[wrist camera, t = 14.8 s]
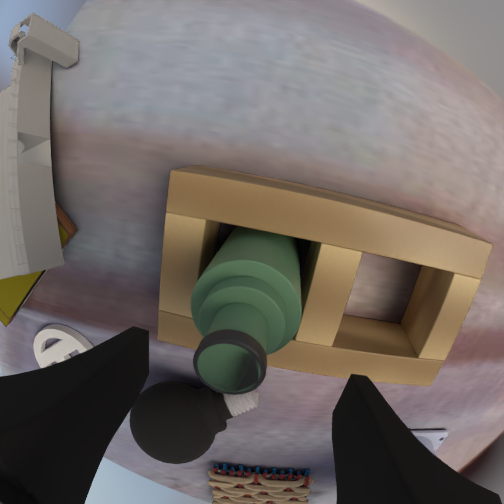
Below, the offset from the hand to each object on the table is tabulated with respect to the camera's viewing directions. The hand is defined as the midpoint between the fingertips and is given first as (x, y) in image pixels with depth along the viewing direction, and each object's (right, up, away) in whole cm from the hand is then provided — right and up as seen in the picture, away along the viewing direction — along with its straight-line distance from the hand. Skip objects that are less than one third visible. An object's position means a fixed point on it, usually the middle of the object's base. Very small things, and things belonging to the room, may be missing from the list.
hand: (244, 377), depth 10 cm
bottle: (+1, +4, +8) cm, 9 cm away
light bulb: (-4, -6, +13) cm, 15 cm away
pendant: (-17, -6, +13) cm, 23 cm away
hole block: (+4, +3, +8) cm, 10 cm away
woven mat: (+1, -22, +15) cm, 26 cm away
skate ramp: (-16, +10, +7) cm, 21 cm away
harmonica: (-18, +2, +9) cm, 20 cm away
